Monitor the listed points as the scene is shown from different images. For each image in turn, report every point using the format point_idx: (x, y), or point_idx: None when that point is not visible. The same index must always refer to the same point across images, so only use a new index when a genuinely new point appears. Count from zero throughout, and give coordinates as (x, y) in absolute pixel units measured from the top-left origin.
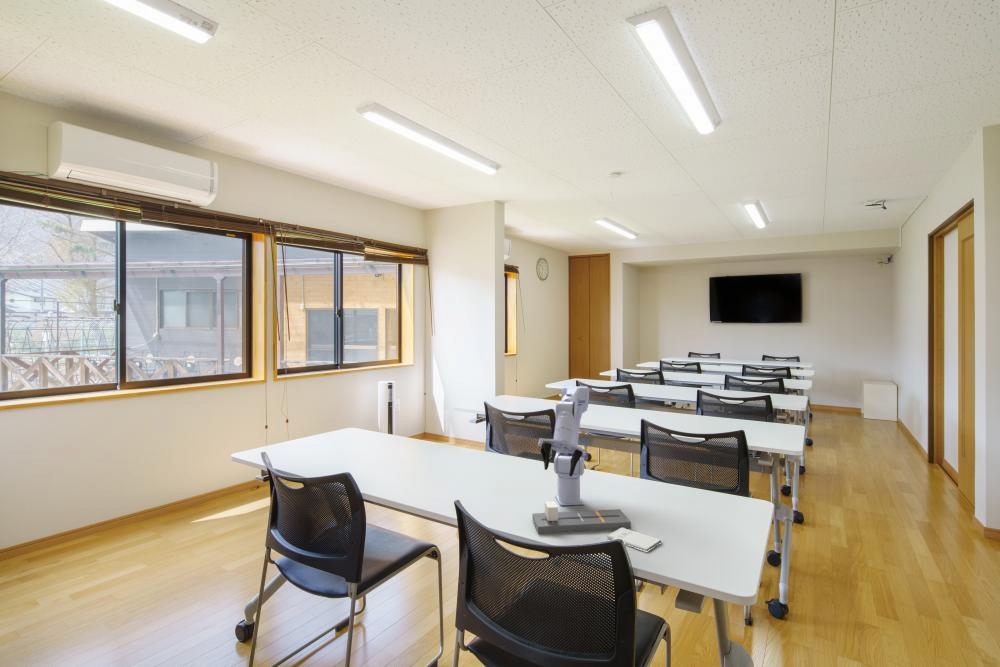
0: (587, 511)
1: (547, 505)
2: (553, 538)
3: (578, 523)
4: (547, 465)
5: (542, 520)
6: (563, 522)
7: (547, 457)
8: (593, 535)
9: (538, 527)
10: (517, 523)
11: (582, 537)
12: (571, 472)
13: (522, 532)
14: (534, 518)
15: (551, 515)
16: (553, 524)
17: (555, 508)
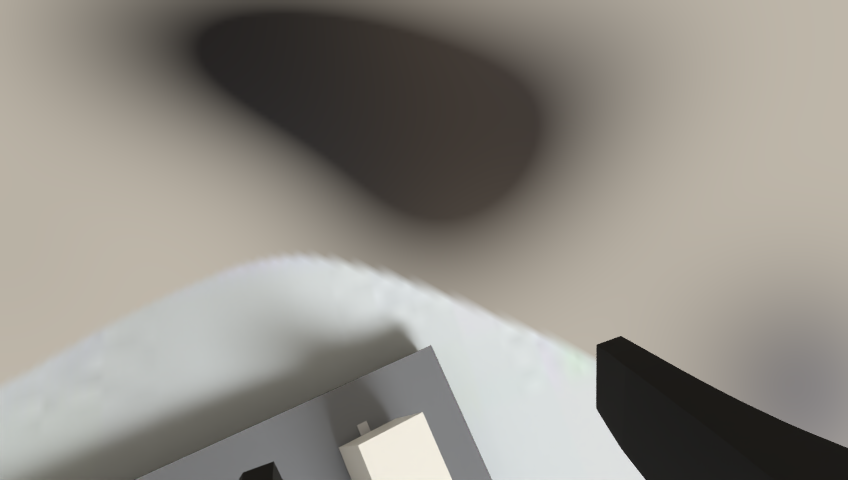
0: None
1: (435, 455)
2: (330, 315)
3: (195, 472)
4: (617, 345)
5: None
6: (300, 455)
7: (722, 403)
8: (89, 420)
9: (426, 347)
10: (549, 446)
11: (165, 370)
12: (270, 467)
13: (489, 344)
14: (480, 455)
15: (384, 426)
16: (355, 401)
17: (371, 438)
